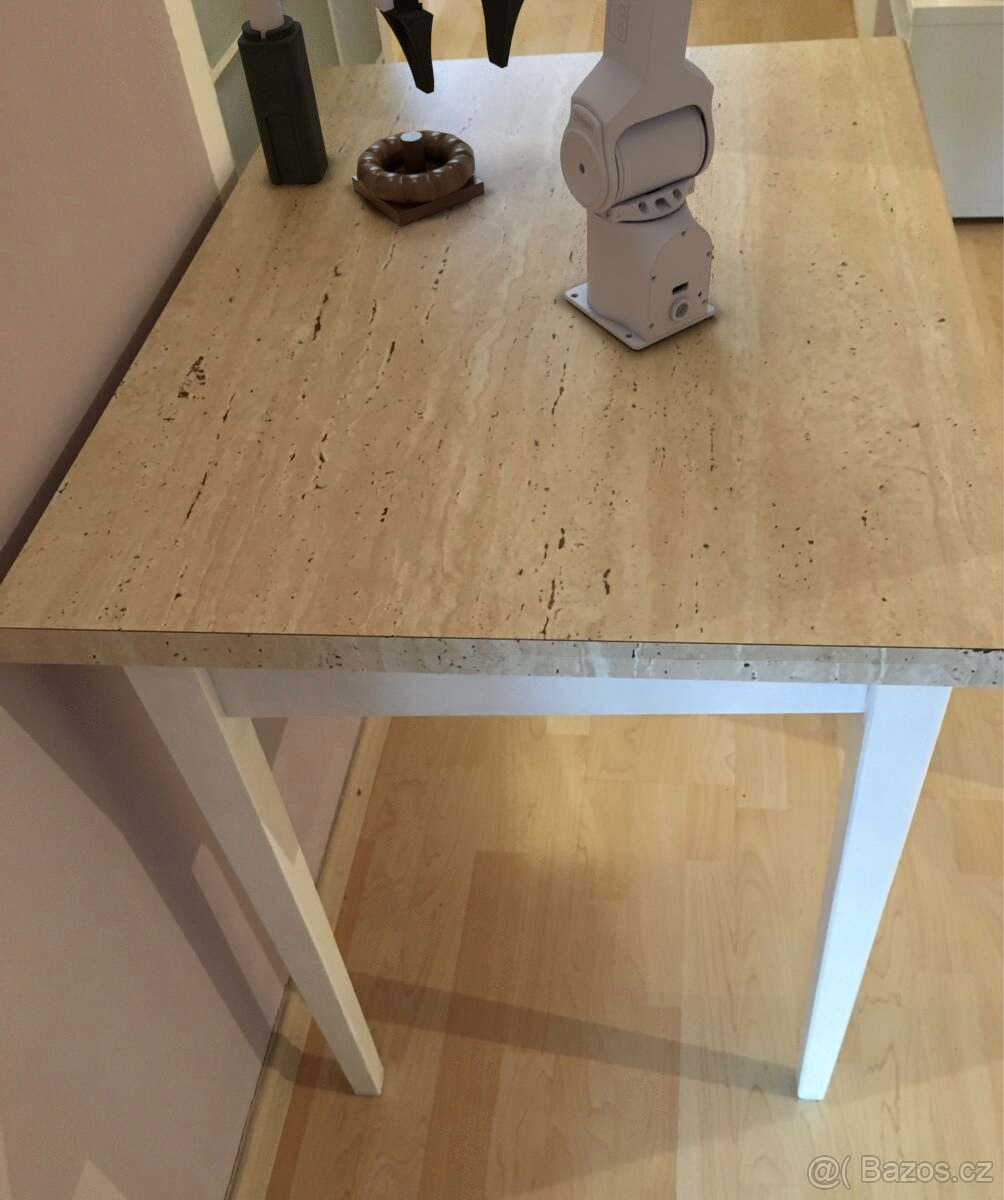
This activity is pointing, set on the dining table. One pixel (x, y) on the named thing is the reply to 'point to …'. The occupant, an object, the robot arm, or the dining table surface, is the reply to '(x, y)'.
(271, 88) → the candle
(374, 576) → the dining table surface
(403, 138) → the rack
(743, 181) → the dining table surface
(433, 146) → the segmented ring
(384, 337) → the dining table surface
